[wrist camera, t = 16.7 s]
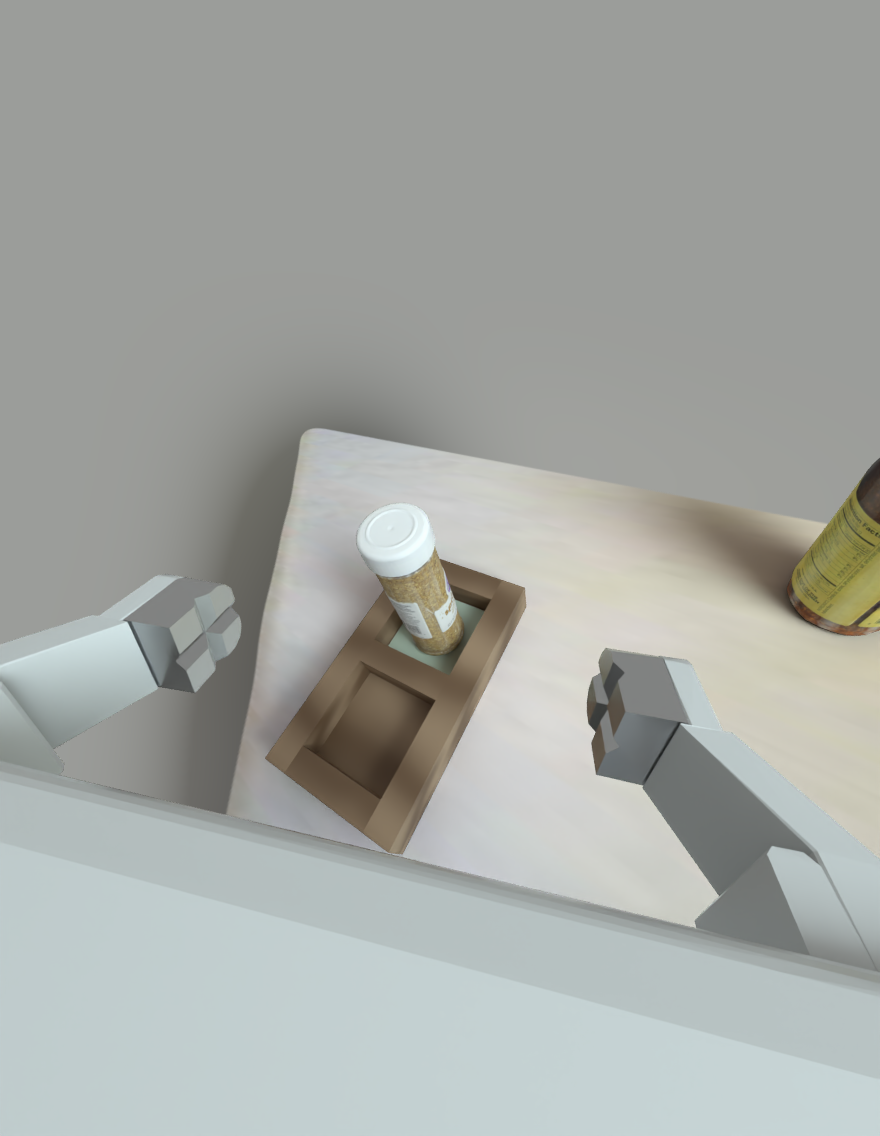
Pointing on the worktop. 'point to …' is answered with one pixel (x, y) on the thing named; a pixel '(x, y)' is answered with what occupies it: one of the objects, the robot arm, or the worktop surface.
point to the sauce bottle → (844, 566)
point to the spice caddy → (396, 710)
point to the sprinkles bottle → (412, 575)
